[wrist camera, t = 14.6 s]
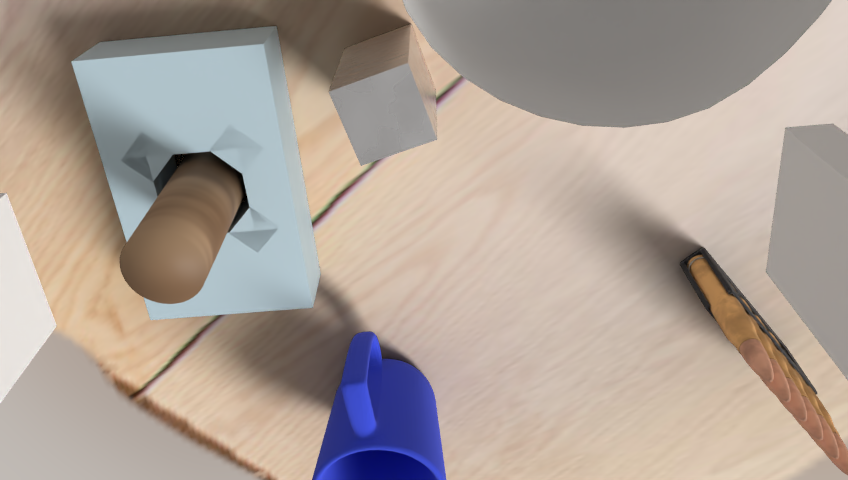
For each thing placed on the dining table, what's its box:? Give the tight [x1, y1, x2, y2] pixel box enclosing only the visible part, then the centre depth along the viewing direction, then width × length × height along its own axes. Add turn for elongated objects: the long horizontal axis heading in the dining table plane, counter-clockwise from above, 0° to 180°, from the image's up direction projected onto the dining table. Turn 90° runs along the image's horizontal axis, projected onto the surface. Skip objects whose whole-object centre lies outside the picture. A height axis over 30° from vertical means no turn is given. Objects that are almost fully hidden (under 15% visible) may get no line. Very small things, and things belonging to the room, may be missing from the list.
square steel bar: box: [329, 24, 437, 166], centre depth 41 cm, size 4×4×8 cm
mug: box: [312, 332, 446, 480], centre depth 50 cm, size 8×12×10 cm
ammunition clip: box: [680, 248, 848, 475], centre depth 47 cm, size 11×2×12 cm, turn 42°
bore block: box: [71, 26, 321, 320], centre depth 45 cm, size 16×10×4 cm, turn 5°
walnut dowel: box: [120, 151, 246, 304], centre depth 42 cm, size 4×4×12 cm
